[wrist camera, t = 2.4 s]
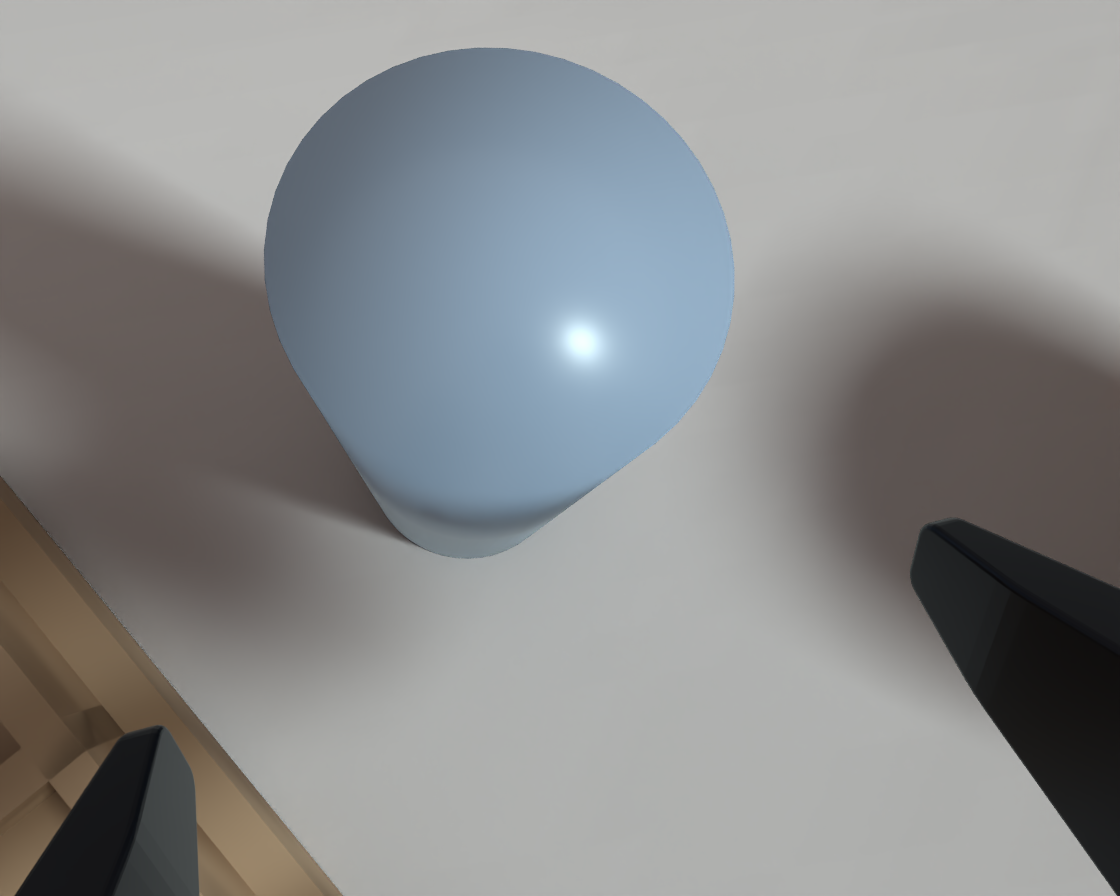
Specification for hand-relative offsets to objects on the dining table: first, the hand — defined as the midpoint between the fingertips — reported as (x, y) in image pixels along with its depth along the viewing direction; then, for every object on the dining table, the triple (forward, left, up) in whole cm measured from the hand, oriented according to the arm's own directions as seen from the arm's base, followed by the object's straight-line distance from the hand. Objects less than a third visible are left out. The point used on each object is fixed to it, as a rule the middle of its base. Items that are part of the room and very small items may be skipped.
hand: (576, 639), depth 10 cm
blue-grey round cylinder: (+4, +1, -11) cm, 11 cm away
